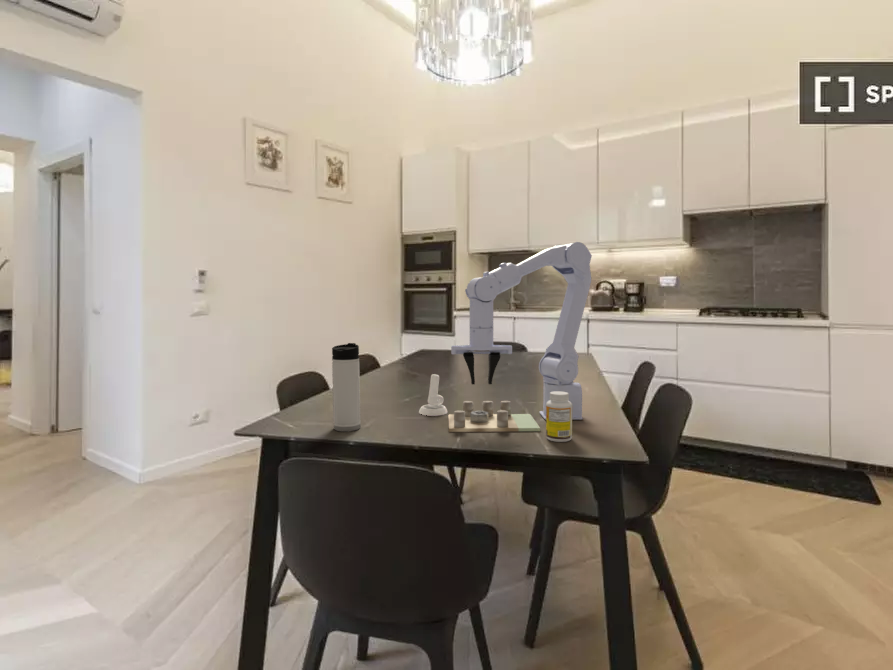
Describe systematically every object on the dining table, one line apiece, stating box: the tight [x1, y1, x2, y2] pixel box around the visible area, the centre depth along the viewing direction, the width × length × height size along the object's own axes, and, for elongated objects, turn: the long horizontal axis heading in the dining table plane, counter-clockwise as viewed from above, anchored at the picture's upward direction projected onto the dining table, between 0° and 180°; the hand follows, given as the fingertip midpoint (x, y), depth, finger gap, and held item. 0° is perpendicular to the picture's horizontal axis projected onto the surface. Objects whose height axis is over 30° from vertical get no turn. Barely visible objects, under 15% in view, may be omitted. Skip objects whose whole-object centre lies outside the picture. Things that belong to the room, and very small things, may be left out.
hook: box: [418, 373, 448, 417], centre depth 143 cm, size 8×12×7 cm
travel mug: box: [331, 342, 361, 433], centre depth 124 cm, size 6×7×20 cm
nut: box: [470, 410, 488, 423], centre depth 128 cm, size 5×4×2 cm
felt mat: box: [511, 413, 541, 432], centre depth 128 cm, size 5×14×1 cm, turn 0°
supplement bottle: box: [545, 391, 573, 443], centre depth 115 cm, size 6×6×10 cm
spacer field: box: [447, 400, 520, 433], centre depth 128 cm, size 16×14×4 cm
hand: (481, 383), depth 128 cm, fingers open, 3 cm apart
